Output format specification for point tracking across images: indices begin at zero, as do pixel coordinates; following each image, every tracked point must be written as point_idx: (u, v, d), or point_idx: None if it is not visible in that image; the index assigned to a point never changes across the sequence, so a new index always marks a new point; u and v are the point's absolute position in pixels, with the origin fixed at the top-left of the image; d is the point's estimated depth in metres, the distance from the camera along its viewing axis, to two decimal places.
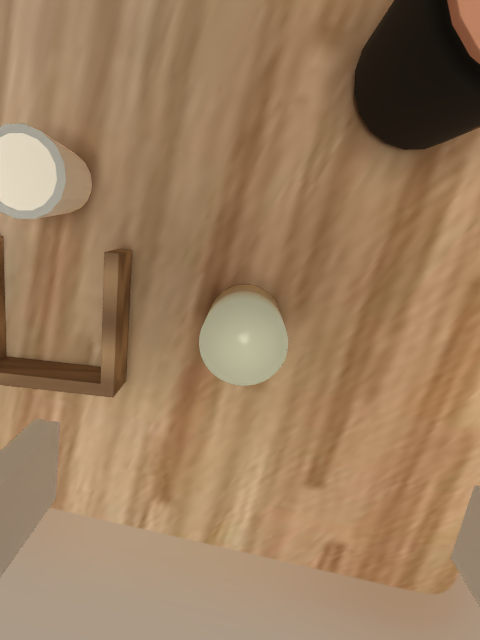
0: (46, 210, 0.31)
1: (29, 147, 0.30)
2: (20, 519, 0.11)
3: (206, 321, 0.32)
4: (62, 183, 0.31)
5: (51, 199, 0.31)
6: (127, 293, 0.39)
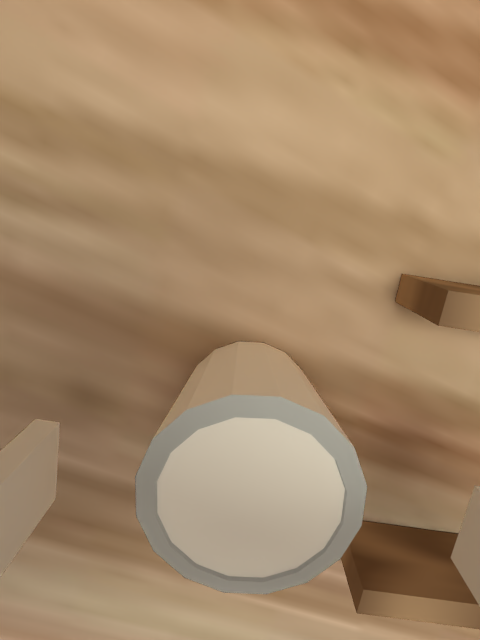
0: (349, 455, 0.12)
1: (191, 472, 0.12)
2: (20, 519, 0.11)
3: None
4: (284, 406, 0.11)
5: (323, 440, 0.11)
6: None
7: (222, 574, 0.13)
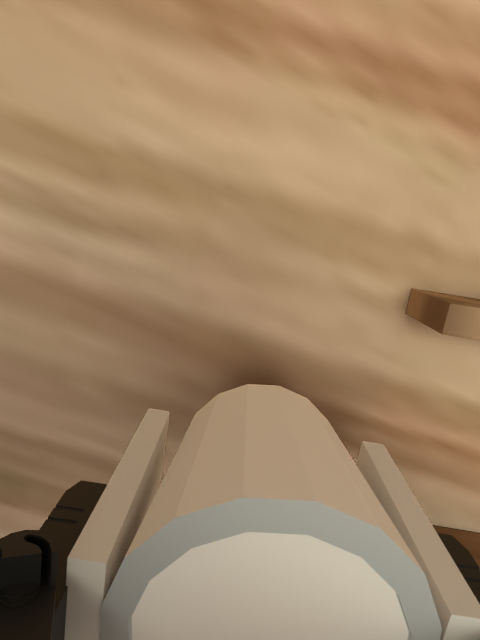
0: (417, 584, 0.08)
1: (181, 605, 0.08)
2: (150, 493, 0.13)
3: None
4: (322, 515, 0.07)
5: (378, 566, 0.08)
6: None
7: None
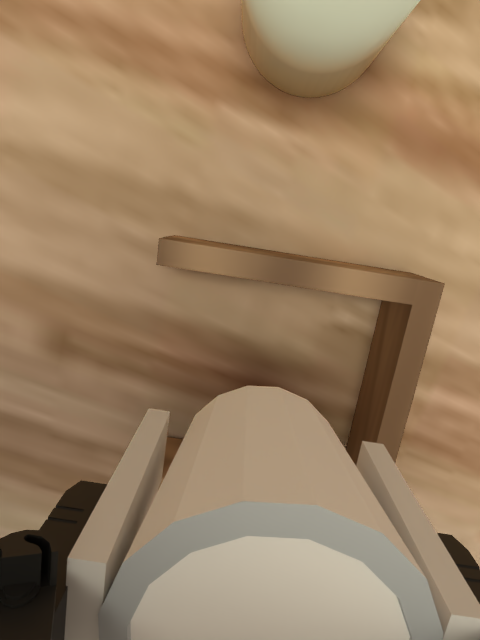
0: (418, 589, 0.08)
1: (181, 609, 0.08)
2: (150, 493, 0.13)
3: None
4: (322, 519, 0.07)
5: (379, 570, 0.08)
6: (247, 247, 0.22)
7: None
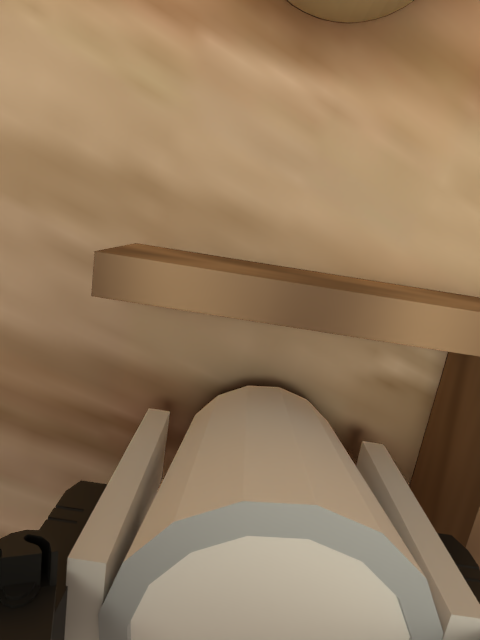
0: (418, 589, 0.08)
1: (181, 609, 0.08)
2: (150, 493, 0.13)
3: None
4: (322, 519, 0.07)
5: (379, 570, 0.08)
6: (247, 262, 0.14)
7: None
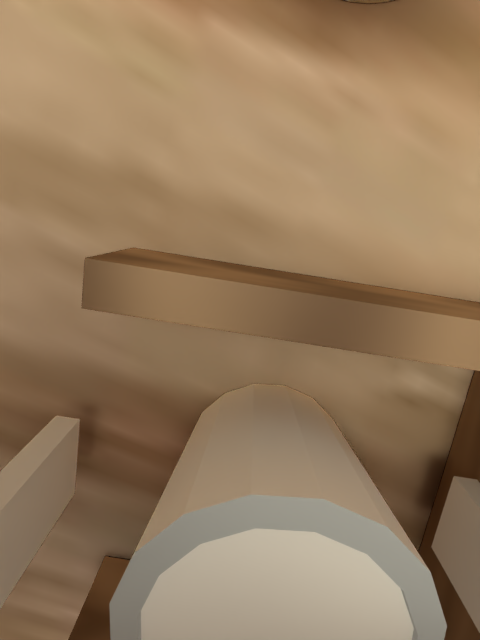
0: (422, 582, 0.08)
1: (190, 599, 0.08)
2: (44, 512, 0.11)
3: None
4: (328, 512, 0.08)
5: (384, 563, 0.08)
6: (255, 269, 0.13)
7: None
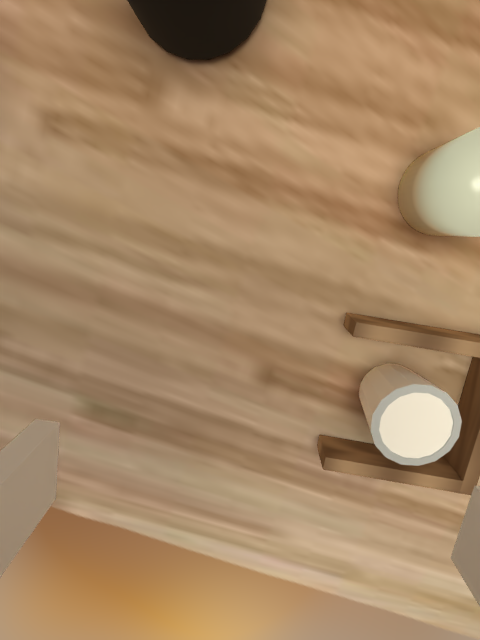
0: (455, 408, 0.31)
1: (394, 413, 0.31)
2: (20, 519, 0.11)
3: (456, 225, 0.27)
4: (432, 388, 0.31)
5: (446, 402, 0.31)
6: (393, 321, 0.36)
7: (401, 456, 0.32)
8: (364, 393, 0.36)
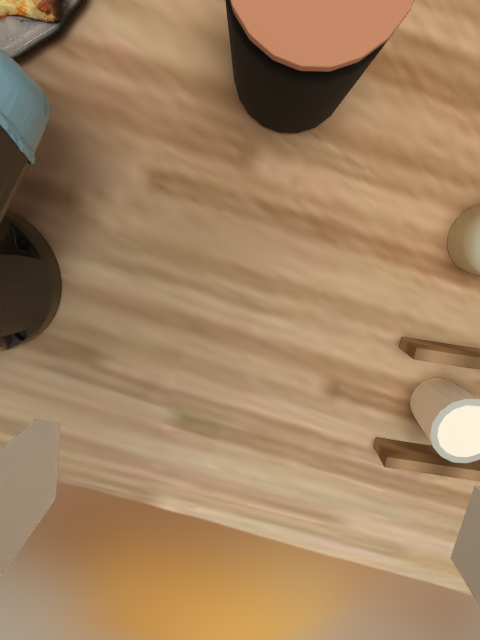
0: None
1: (449, 422, 0.39)
2: (20, 519, 0.11)
3: None
4: None
5: None
6: (441, 344, 0.44)
7: (454, 456, 0.40)
8: (418, 404, 0.43)
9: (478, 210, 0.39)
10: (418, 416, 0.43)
